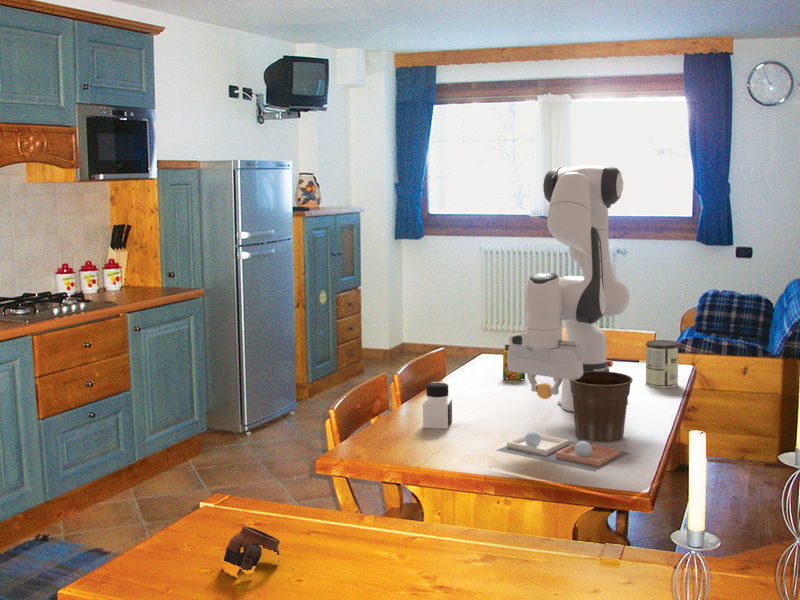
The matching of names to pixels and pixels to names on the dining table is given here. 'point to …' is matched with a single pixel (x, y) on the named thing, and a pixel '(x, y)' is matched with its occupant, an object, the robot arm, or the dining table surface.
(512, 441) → the cream tray
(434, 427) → the medicine bottle
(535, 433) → the blue ball
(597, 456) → the terracotta tray
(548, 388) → the orange ball
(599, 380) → the plant pot
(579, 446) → the blue ball
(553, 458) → the slate mat
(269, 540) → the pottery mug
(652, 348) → the coffee can
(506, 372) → the crayon box
